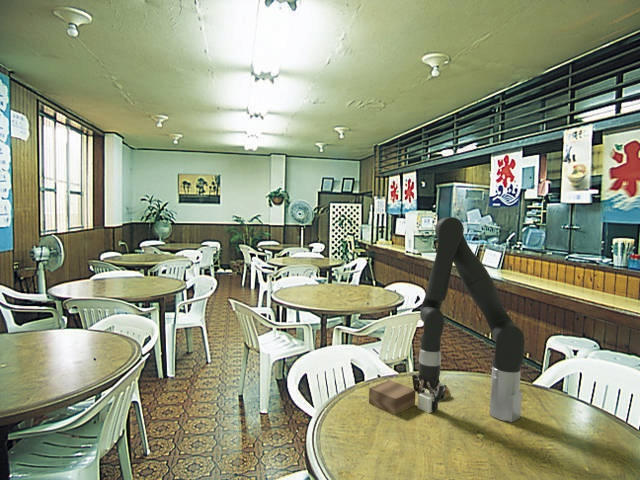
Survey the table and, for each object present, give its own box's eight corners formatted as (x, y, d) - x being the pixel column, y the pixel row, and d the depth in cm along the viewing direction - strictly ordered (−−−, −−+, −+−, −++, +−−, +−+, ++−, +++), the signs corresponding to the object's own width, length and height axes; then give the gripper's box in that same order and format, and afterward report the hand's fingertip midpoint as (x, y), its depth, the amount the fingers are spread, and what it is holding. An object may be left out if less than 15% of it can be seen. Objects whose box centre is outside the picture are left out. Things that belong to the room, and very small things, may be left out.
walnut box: (414, 405, 159) (415, 389, 159) (395, 415, 151) (395, 398, 151) (388, 395, 168) (389, 379, 168) (368, 403, 160) (369, 388, 159)
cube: (437, 409, 156) (438, 395, 156) (428, 413, 153) (429, 399, 153) (426, 404, 160) (427, 391, 160) (417, 407, 157) (418, 394, 157)
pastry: (438, 403, 161) (438, 393, 161) (422, 397, 166) (423, 387, 166) (451, 396, 168) (452, 387, 167) (436, 391, 173) (437, 382, 172)
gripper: (453, 365, 152) (450, 412, 153) (420, 354, 163) (418, 397, 164) (439, 369, 147) (437, 418, 149) (407, 357, 159) (405, 402, 160)
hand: (427, 407), depth 157 cm, fingers closed on cube, 5 cm apart
